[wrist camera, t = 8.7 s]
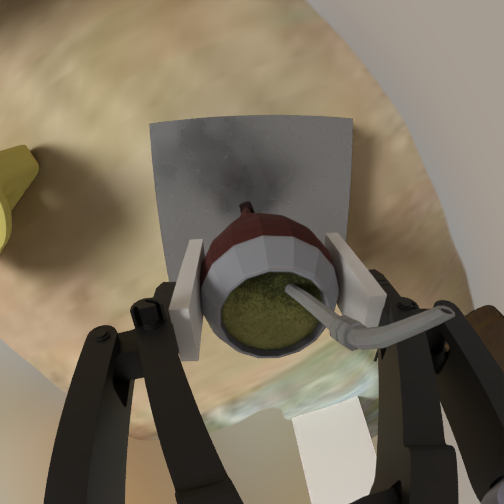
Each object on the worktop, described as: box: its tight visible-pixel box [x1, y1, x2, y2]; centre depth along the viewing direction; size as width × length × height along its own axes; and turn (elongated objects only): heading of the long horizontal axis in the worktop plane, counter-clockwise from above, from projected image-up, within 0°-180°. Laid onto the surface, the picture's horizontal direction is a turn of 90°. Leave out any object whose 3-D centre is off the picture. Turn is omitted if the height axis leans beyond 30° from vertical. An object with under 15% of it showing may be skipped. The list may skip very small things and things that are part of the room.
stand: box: [149, 115, 353, 282], centre depth 26 cm, size 16×16×4 cm
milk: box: [292, 396, 377, 504], centre depth 34 cm, size 12×12×26 cm
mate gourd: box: [200, 201, 455, 358], centre depth 13 cm, size 8×8×15 cm
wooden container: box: [445, 305, 504, 373], centre depth 30 cm, size 15×15×22 cm
